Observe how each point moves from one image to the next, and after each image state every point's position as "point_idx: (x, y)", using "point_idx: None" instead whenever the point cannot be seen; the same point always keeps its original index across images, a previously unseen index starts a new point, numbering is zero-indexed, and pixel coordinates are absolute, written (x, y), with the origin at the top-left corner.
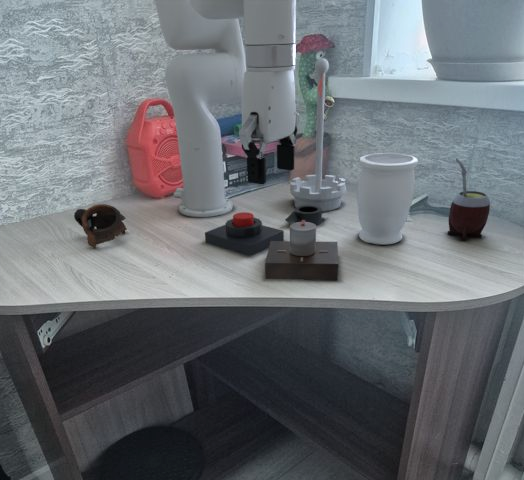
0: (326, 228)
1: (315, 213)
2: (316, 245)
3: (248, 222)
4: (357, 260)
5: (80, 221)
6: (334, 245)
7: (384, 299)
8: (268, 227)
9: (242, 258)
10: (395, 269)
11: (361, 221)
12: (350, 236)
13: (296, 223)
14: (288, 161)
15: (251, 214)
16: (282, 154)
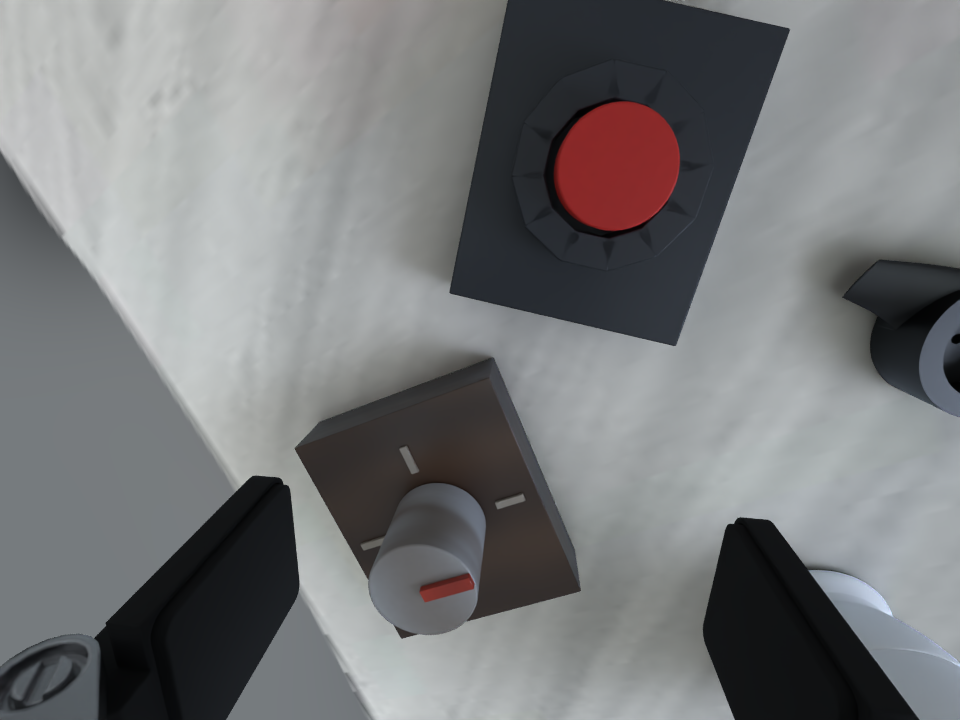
0: (873, 433)
1: (936, 406)
2: (516, 543)
3: (580, 221)
4: (576, 607)
5: None
6: (540, 593)
7: (371, 703)
8: (698, 260)
9: (433, 264)
10: (552, 699)
11: None
12: (794, 539)
13: (437, 561)
14: (732, 669)
15: (649, 206)
16: (772, 674)
